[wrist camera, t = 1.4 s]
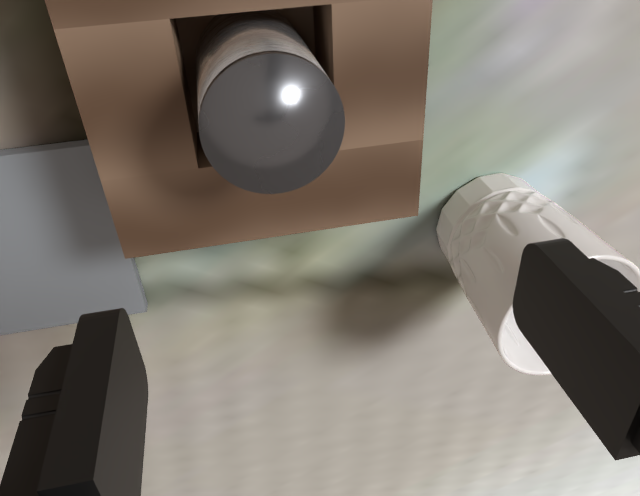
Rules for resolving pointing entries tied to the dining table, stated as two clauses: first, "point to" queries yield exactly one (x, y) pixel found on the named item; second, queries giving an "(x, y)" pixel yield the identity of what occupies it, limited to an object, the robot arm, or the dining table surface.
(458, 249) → the white cup
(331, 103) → the shiny metal cylinder
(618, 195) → the dining table surface
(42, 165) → the mat
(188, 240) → the housing
